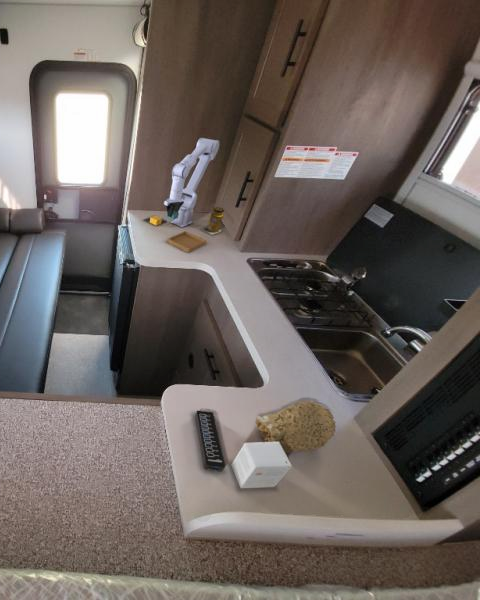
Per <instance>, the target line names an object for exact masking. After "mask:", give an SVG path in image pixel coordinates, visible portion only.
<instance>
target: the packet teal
mask: <svg viewBox="0 0 480 600" xmlns="http://www.w3.org/2000/svg"><path fill="white" fill-rule="evenodd" d="M178 215H179V212H176V211H173V214H172V216H171V217H169V216H168V215H167V211H166V212H165V218H167V219H169V220H171V221H173V220H175V219H177V218H178Z"/></svg>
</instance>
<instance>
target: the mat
mask: <svg viewBox="0 0 480 600" xmlns="http://www.w3.org/2000/svg"><path fill="white" fill-rule="evenodd" d="M161 219H162V222H161V224H160V225H162V224H164V223H167V220H165V219H164V218H161ZM143 222H146V223H149V224H150V225H152V226H155V227H157V226H158V225H154V224H152V223H150V217H147V218H145V219H143Z"/></svg>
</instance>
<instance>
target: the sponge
mask: <svg viewBox="0 0 480 600" xmlns="http://www.w3.org/2000/svg"><path fill="white" fill-rule="evenodd" d="M334 418H335V417H334V414H333V412H331V411H330V409H329V408H327V407H324V406H322V405H321V404H319V403H318V402H316V401H312V400H303V401H297V402H296V403H294V404H291V405H289V406H288V407H284V408H282V409H280V410H279V411H277V412H276V413H271V414H270V413H269V414H264V415H263V416H261V415H259V416H257V417H256V418H255V424H256V428H257V429H258V430H259V432H260V435H261V436H262V437H263V438H264V439H263V440H264V442H277V441H279V443H280V445H281V446H282V448H283V450H284V452H285V454H290V453H295V452H300V451H302V452H314V451H316V450H318V449H320V448H322V447H324V446H325V444H327V442H328V441H330V439H332V437H334V436H335V432H336V427H337V426H336V423H337V422H336V421H335V420H334Z"/></svg>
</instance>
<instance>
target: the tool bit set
mask: <svg viewBox="0 0 480 600" xmlns="http://www.w3.org/2000/svg"><path fill="white" fill-rule="evenodd" d="M194 419H195V425H196V431H197V437H198V443H199V449H200V455H201V460H202V466H203V469H204V470H207V471H213V472H214V471H215V472H223V471H224V469H225V467H226V462H225V458H224V453H223V449H222V444H221V440H220V436H219V435H220V434H219V432H218V431H219V430H218V427H217V426H218V425H217V423H216V422H217V421H216V418H215V413H214V411H213V412H212V411H206V410H196V412H195V414H194Z"/></svg>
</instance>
